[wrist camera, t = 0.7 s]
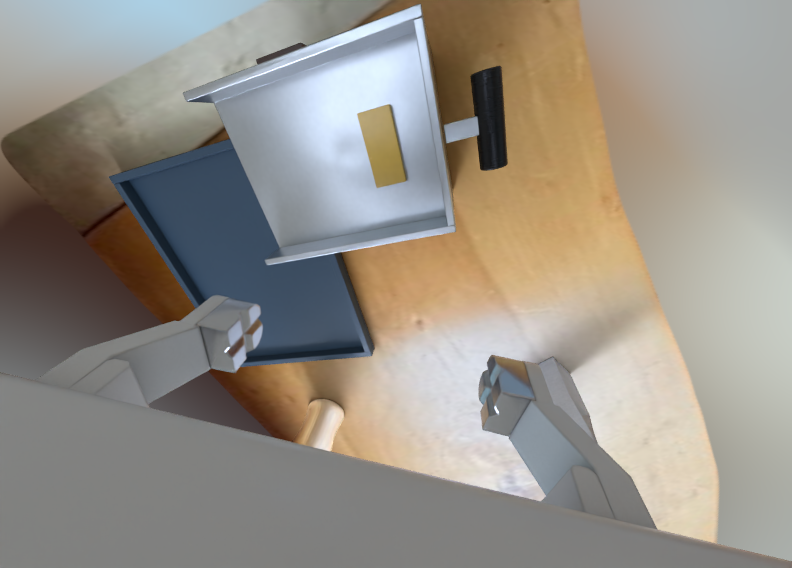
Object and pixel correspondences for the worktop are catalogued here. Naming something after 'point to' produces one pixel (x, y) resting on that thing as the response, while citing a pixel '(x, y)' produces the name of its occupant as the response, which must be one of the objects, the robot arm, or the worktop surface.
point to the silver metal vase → (320, 424)
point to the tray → (243, 256)
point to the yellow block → (382, 145)
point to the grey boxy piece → (566, 394)
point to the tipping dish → (351, 137)
